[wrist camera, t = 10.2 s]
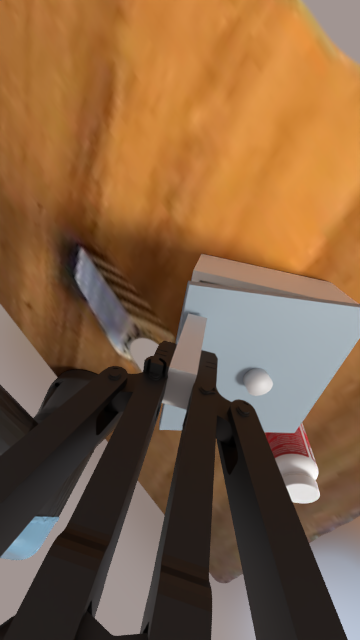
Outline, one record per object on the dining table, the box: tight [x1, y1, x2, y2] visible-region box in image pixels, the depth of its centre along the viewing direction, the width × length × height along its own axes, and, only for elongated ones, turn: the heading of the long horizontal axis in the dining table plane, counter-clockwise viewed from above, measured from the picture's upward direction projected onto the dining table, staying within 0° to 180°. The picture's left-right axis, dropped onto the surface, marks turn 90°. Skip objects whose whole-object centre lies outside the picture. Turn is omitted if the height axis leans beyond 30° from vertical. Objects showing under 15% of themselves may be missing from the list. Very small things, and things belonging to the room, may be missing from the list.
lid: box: [159, 281, 360, 433], centre depth 22 cm, size 16×17×2 cm
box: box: [191, 254, 358, 304], centre depth 28 cm, size 16×16×8 cm
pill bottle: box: [265, 423, 320, 503], centre depth 34 cm, size 6×6×11 cm
